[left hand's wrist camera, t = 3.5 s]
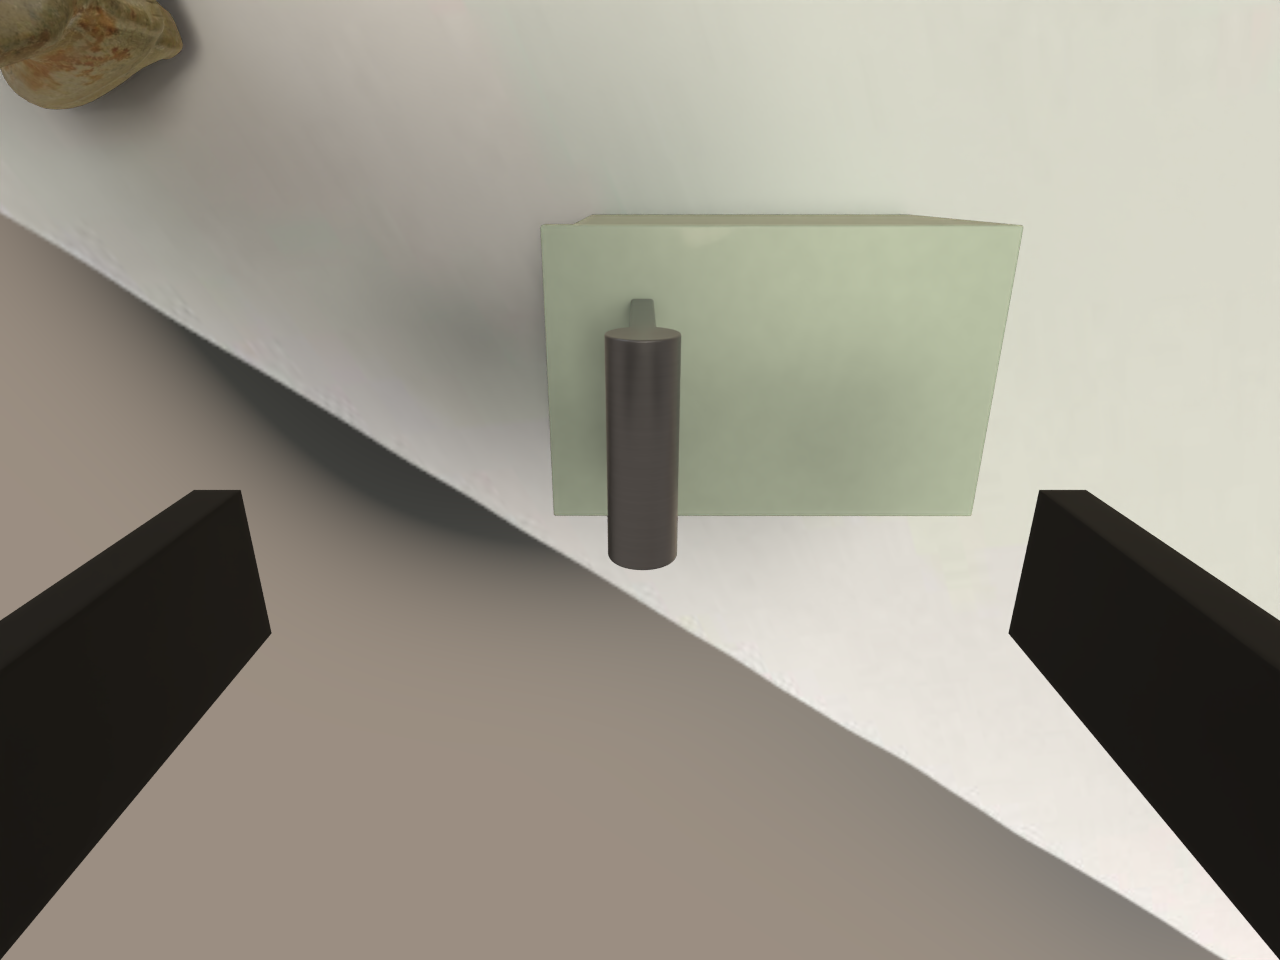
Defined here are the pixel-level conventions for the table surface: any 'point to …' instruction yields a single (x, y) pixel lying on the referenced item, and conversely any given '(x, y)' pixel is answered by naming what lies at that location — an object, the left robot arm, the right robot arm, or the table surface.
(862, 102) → the table surface
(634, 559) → the lid
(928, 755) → the table surface
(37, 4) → the sculpture
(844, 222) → the chest
